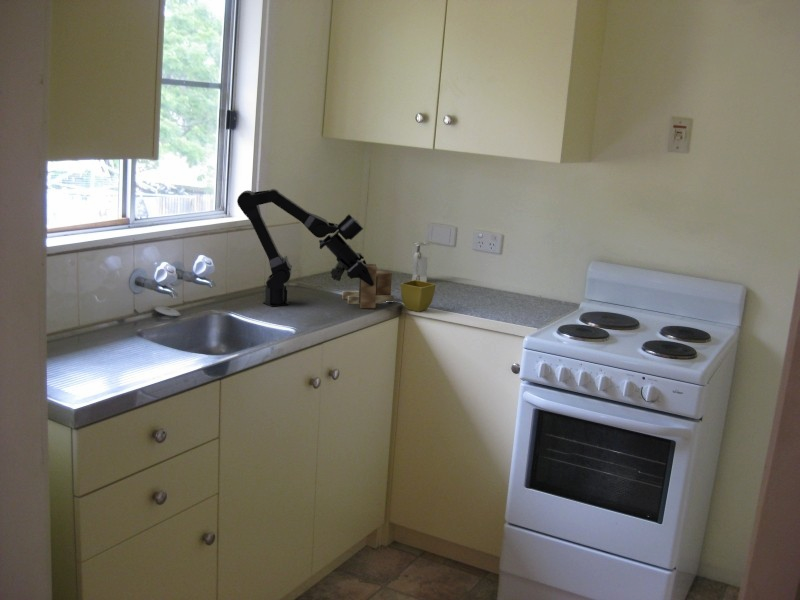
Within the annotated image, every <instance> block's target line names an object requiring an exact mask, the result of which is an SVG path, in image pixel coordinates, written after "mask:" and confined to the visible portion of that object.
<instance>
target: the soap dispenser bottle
mask: <svg viewBox="0 0 800 600" xmlns="http://www.w3.org/2000/svg"><path fill="white" fill-rule="evenodd" d="M411 248H412V249H411V265H412V277H411V280H410V281H412V280H418V281H423V282H428V279H427V271H428V267H429V263H430V258H431V257H430V255H431V244H430V243H428V242H426V241H425V242H422V241H416V242H413V243H412V247H411Z"/></svg>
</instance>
